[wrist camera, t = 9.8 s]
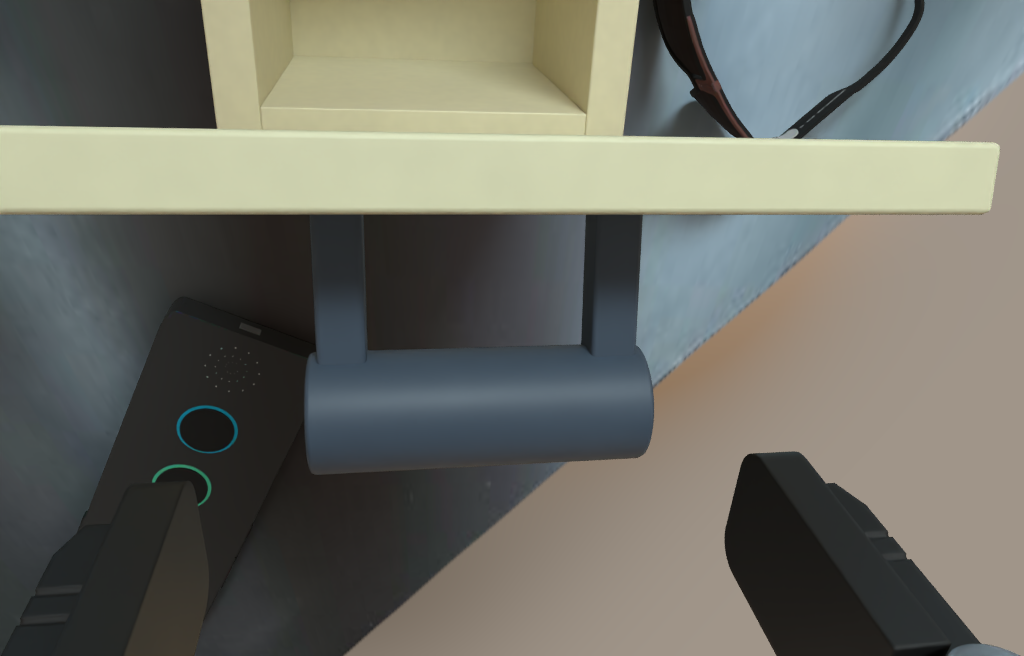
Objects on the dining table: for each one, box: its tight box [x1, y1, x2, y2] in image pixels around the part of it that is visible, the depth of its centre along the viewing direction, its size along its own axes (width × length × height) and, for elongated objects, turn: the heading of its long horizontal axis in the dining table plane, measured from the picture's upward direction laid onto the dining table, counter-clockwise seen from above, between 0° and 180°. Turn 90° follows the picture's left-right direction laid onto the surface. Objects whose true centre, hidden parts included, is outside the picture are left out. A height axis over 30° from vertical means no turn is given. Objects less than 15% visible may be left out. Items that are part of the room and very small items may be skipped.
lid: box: [0, 125, 1000, 475], centre depth 16 cm, size 16×13×5 cm
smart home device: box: [77, 297, 316, 621], centre depth 41 cm, size 8×2×20 cm
